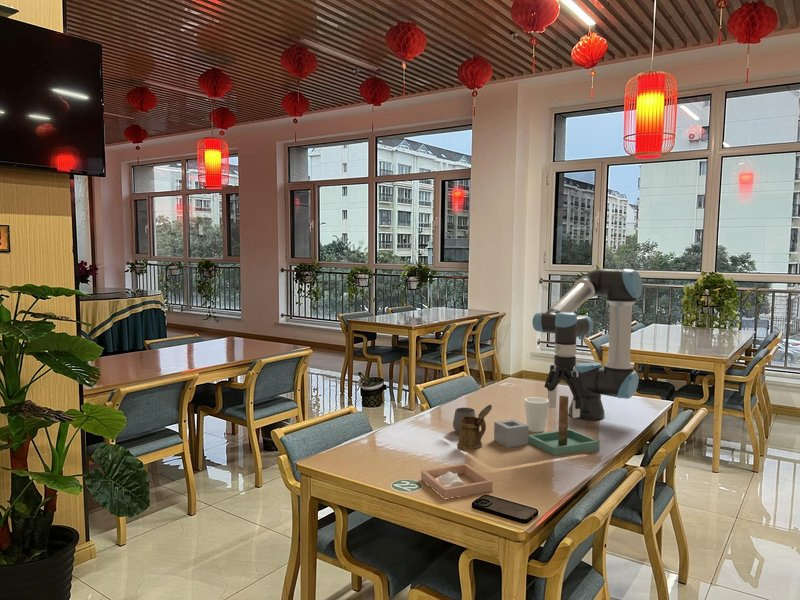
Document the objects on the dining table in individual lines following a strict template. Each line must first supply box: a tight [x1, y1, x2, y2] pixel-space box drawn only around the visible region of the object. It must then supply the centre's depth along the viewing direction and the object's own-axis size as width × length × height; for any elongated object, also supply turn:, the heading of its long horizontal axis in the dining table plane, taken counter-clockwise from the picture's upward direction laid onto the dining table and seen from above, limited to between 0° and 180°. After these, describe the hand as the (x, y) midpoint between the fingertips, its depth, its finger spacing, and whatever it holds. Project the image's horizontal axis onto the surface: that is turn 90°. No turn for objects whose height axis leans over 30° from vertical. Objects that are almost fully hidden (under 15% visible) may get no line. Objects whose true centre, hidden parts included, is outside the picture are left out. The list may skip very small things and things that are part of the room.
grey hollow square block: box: [493, 418, 529, 448], centre depth 216 cm, size 9×9×8 cm
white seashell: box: [436, 472, 465, 488], centre depth 179 cm, size 10×4×10 cm
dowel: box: [558, 395, 569, 446], centre depth 213 cm, size 3×3×18 cm
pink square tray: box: [420, 462, 494, 499], centre depth 179 cm, size 16×16×3 cm
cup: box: [452, 407, 477, 435], centre depth 228 cm, size 10×9×10 cm
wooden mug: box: [456, 404, 493, 452], centre depth 211 cm, size 9×14×18 cm, turn 47°
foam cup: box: [524, 396, 549, 433], centre depth 232 cm, size 10×9×13 cm
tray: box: [528, 428, 601, 458], centre depth 214 cm, size 20×16×4 cm
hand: (563, 412), depth 213 cm, fingers open, 13 cm apart
